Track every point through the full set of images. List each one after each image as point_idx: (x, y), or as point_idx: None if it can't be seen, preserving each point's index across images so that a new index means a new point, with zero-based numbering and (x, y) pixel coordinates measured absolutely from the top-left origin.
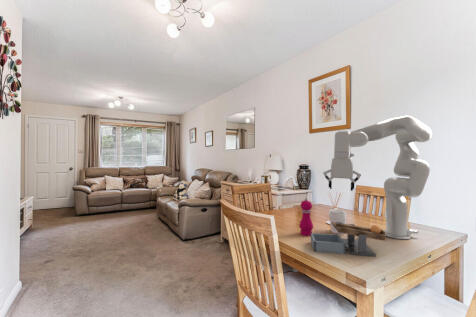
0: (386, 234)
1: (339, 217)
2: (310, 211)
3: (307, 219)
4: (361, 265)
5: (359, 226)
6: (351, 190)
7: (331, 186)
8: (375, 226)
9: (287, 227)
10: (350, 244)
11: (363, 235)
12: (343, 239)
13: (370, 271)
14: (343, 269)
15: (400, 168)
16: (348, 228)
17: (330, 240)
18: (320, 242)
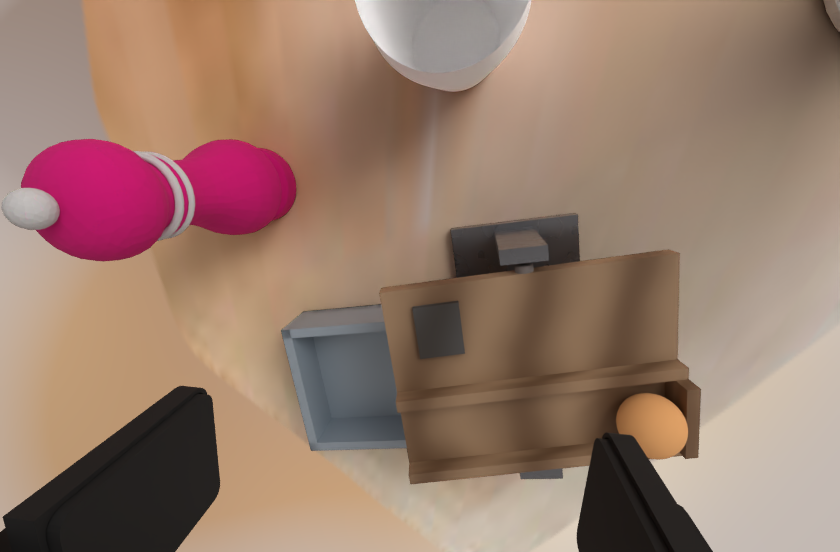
0: (834, 4)
1: (454, 84)
2: (186, 211)
3: (211, 222)
4: (497, 500)
5: (579, 274)
6: (585, 540)
7: (184, 536)
8: (654, 455)
9: (128, 71)
10: None
11: (545, 477)
12: (468, 249)
13: (517, 535)
14: (429, 537)
15: None
16: (467, 473)
17: None
18: (339, 447)
